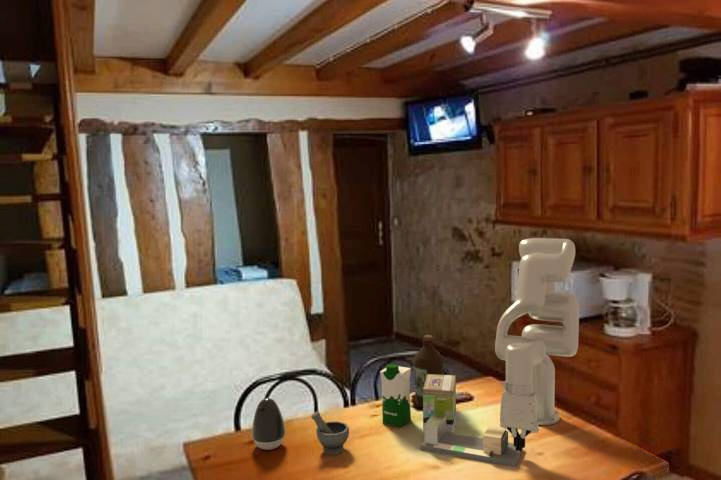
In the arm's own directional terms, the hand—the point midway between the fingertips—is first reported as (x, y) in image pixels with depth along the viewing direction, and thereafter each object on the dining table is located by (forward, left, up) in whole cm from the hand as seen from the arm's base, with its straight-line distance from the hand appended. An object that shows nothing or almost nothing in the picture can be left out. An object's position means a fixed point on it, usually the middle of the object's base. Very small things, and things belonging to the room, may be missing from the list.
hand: (519, 449), depth 170 cm
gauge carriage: (+1, -7, -1) cm, 7 cm away
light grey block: (0, -25, -1) cm, 25 cm away
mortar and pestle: (+15, -53, -3) cm, 55 cm away
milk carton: (-11, -42, -3) cm, 43 cm away
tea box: (-14, -28, -3) cm, 31 cm away
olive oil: (-29, -37, -3) cm, 47 cm away
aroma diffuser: (+20, -72, -3) cm, 75 cm away
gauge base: (0, -14, -3) cm, 14 cm away
